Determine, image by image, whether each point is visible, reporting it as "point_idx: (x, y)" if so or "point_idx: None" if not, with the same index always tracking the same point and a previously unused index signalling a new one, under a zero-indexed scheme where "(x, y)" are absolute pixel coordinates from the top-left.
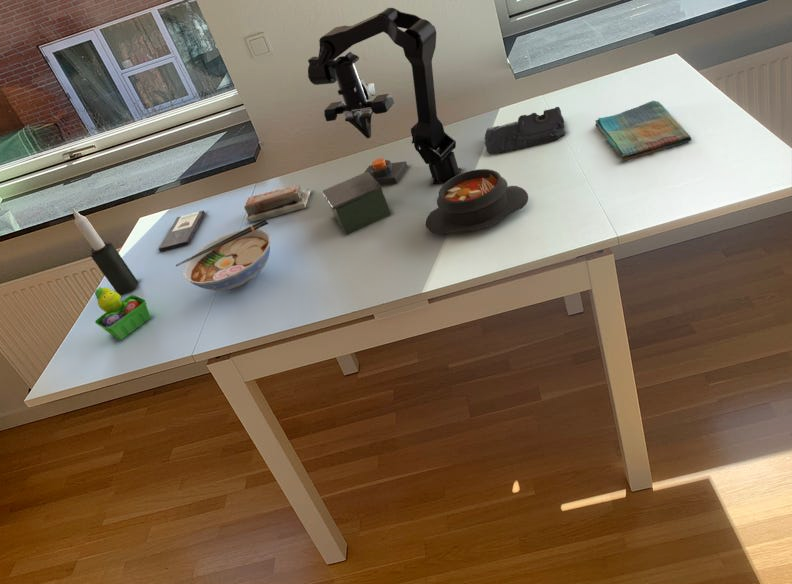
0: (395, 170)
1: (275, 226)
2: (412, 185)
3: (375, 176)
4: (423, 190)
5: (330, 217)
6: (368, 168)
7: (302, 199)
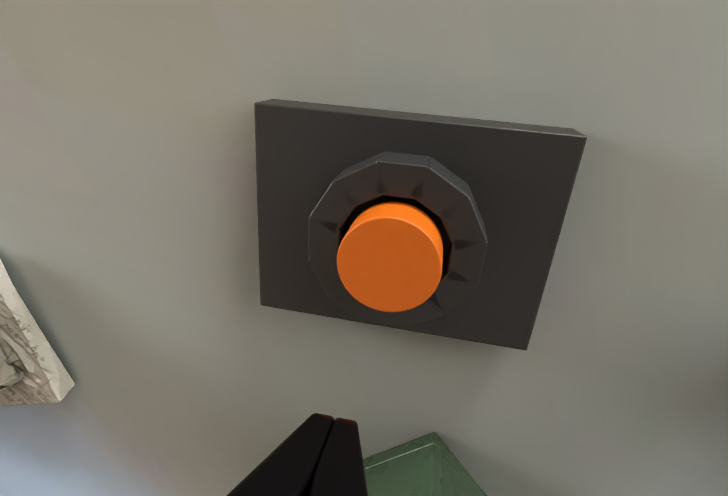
0: (512, 259)
1: (31, 453)
2: (633, 381)
3: None
4: (709, 453)
5: None
6: (268, 151)
7: (21, 358)
